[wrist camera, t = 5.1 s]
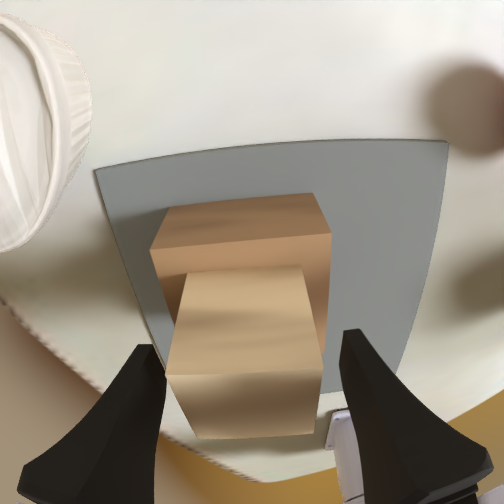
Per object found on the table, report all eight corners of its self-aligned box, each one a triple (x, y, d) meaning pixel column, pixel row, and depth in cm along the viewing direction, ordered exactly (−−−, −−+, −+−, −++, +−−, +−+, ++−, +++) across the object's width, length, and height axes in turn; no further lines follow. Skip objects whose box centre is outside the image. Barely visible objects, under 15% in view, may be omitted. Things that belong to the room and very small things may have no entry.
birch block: (299, 341, 15) (313, 433, 11) (206, 347, 15) (197, 438, 11) (300, 264, 13) (323, 366, 8) (187, 272, 13) (164, 374, 9)
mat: (391, 378, 25) (392, 381, 24) (183, 398, 25) (183, 402, 25) (445, 140, 14) (449, 142, 14) (98, 168, 15) (95, 171, 14)
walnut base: (312, 302, 19) (324, 353, 16) (196, 312, 19) (188, 363, 16) (312, 192, 15) (331, 233, 12) (169, 206, 16) (149, 249, 12)
